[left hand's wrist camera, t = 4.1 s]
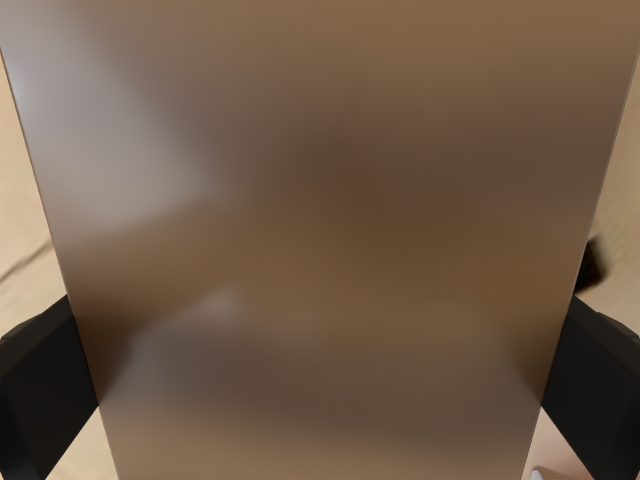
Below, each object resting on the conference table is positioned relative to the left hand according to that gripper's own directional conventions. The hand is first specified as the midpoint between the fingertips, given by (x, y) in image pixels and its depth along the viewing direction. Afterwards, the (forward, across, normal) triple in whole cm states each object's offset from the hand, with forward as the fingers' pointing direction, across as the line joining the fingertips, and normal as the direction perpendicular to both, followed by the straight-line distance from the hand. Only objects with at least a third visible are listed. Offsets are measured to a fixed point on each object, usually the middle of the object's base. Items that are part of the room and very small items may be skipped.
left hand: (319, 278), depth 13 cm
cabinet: (+4, 0, -5) cm, 7 cm away
